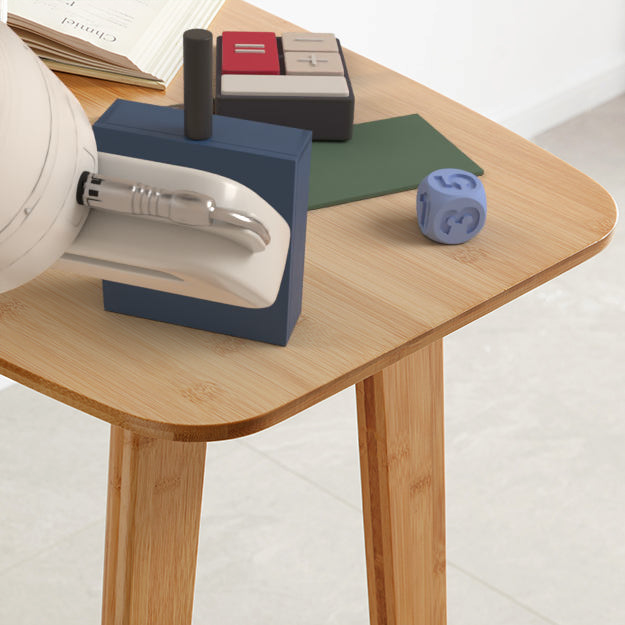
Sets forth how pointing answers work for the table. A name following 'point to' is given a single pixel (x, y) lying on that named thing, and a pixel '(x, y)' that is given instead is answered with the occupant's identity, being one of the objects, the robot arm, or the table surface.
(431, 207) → the decorative dice
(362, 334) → the table surface
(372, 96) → the table surface
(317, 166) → the mat
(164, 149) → the dustpan
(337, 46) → the calculator
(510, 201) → the table surface
